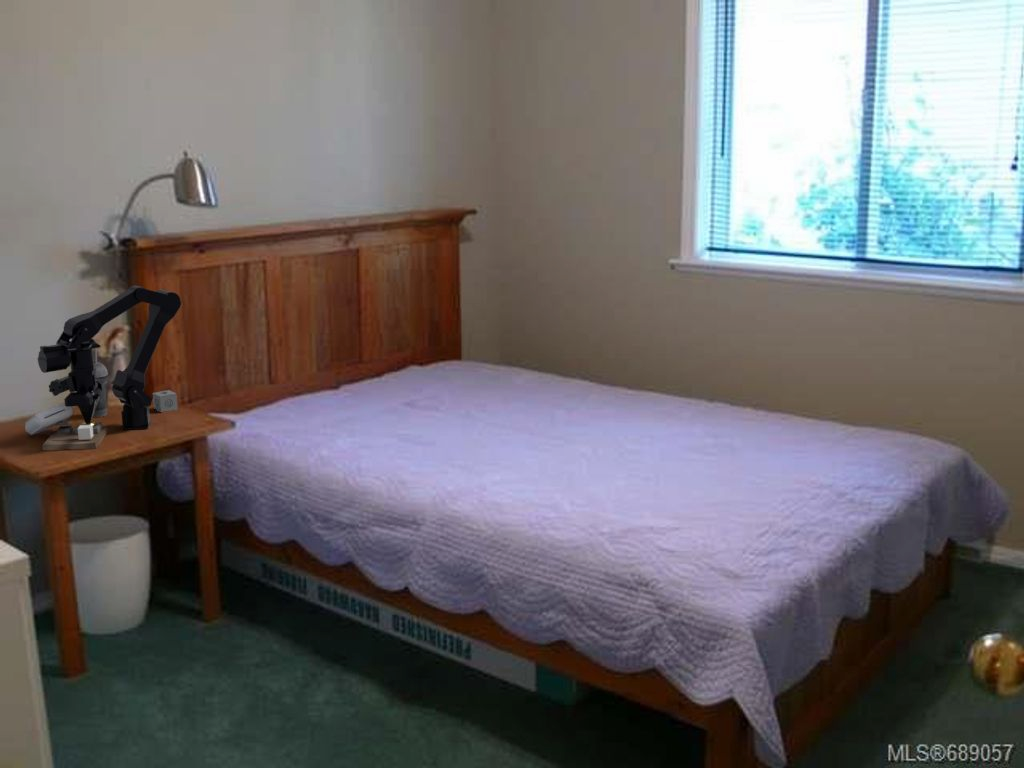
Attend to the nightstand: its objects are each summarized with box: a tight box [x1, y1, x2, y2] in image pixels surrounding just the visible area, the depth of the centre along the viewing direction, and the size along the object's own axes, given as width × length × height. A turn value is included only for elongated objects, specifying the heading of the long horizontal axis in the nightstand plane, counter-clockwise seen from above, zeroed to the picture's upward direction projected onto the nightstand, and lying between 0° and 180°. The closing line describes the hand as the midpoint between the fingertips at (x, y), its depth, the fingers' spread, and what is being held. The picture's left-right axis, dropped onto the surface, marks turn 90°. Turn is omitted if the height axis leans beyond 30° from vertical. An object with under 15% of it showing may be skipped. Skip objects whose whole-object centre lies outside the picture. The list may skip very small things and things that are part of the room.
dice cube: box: [152, 389, 179, 413], centre depth 318 cm, size 5×5×5 cm
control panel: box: [41, 421, 108, 451], centre depth 289 cm, size 13×14×3 cm
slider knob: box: [78, 425, 93, 440], centre depth 285 cm, size 3×3×3 cm
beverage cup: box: [92, 348, 109, 418], centre depth 311 cm, size 7×7×20 cm
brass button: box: [81, 421, 95, 428], centre depth 293 cm, size 3×3×2 cm
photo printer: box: [24, 402, 75, 436], centre depth 293 cm, size 10×4×12 cm
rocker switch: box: [56, 420, 73, 427], centre depth 292 cm, size 3×4×1 cm, turn 8°
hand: (88, 423), depth 292 cm, fingers closed, pressing on brass button
